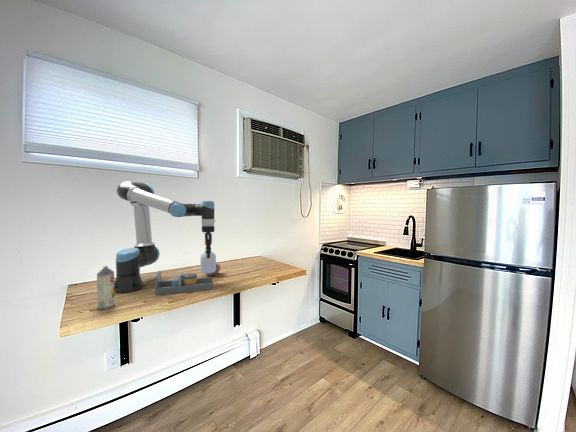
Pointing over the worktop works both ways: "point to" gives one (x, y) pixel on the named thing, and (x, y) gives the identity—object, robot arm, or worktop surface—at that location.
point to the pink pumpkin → (215, 271)
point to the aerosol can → (105, 288)
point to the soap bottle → (210, 266)
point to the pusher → (177, 280)
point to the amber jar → (189, 279)
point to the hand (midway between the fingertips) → (208, 261)
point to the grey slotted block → (177, 289)
